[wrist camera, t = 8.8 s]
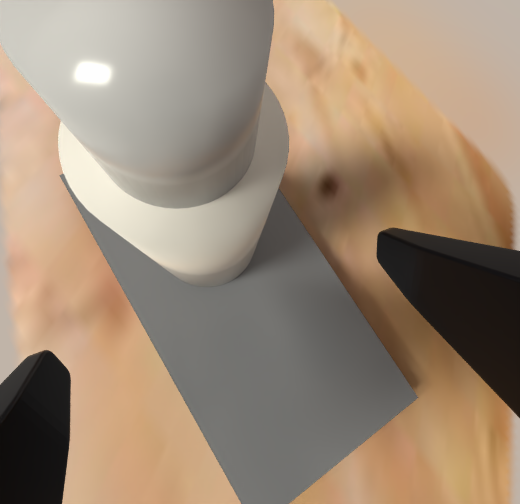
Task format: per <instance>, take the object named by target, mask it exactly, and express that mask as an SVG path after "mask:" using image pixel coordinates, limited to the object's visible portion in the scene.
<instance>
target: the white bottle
mask: <svg viewBox="0 0 520 504" xmlns="http://www.w3.org/2000/svg"><path fill="white" fill-rule="evenodd" d="M273 26H274V6H273V0H0V43H1V45H2V48H3V50H4V52H5V53H6V55H7V56H8V58H9V59H10V61H11V62H12V64H13V65H14V67H15V68H16V69H17V70H18V71H19V72H20V74H21V75H22V76H23V77H24V78H25V79H26V81H27V82H28V83H29V84H30V85H31V86H32V87H33V89H34V90H35V91H36V92H37V93H38V94H39V96H40V97H41V98H42V99H43V100H44V101H45V103H46V104H47V105H48V106H49V107H50V108H51V110H52V111H53V112H54V113H55V114H56V115H57V117H58V118H59V119H60V120H61V123H60V128H59V137H58V149H59V157H60V162H61V166H62V169H63V173H64V175H65V178H66V180H67V182H68V184H69V186H70V188H71V189H72V191H73V192H74V194H75V196H76V197H77V199H78V200H79V201H80V202H81V203H82V204H83V205H84V207H85V208H86V209H87V210H88V211H89V212H90V213H92V214H93V215H94V216H95V217H96V218H97V219H99V220H100V221H101V222H102V223H104V224H105V225H107V226H108V227H109V228H111V229H112V230H113V231H115V232H116V233H117V234H119V235H120V236H121V237H123V238H124V239H125V240H127V241H128V242H129V243H131V244H132V245H134V246H135V247H136V248H138V249H139V250H140V251H142V252H143V253H144V254H146V255H147V256H148V257H150V258H151V259H152V260H154V261H155V262H156V263H158V264H159V265H160V266H162V267H163V268H165V269H166V270H167V271H169V272H170V273H171V274H173V275H174V276H175V277H177V278H178V279H180V280H181V281H183V282H185V283H187V284H190V285H193V286H198V287H215V286H220V285H223V284H226V283H228V282H230V281H232V280H233V279H235V278H236V277H238V276H239V275H240V274H241V273H242V272H243V271H244V270H245V269H246V267H247V266H248V264H249V263H250V261H251V259H252V257H253V254H254V251H255V249H256V246H257V243H258V241H259V238H260V236H261V233H262V230H263V228H264V225H265V222H266V220H267V217H268V214H269V212H270V209H271V206H272V204H273V201H274V199H275V196H276V193H277V191H278V188H279V185H280V183H281V180H282V177H283V174H284V171H285V168H286V165H287V159H288V153H289V135H288V127H287V123H286V119H285V116H284V112H283V110H282V108H281V106H280V103H279V101H278V99H277V98H276V96H275V94H274V93H273V91H272V90H271V88H270V87H269V86H268V85H267V83H266V82H265V80H266V73H267V66H268V60H269V53H270V46H271V40H272V33H273Z"/></svg>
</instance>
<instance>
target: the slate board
mask: <svg viewBox="0 0 520 504" xmlns="http://www.w3.org/2000/svg"><path fill="white" fill-rule="evenodd" d="M60 177H61V179H62V181H63V183H64V184H65V186H66V188H67V190H68V192H69V193H70V195H71V197H72V199H73V201H74V202H75V204H76V206H77V208H78V210H79V211H80V213H81V215H82V217H83V219H84V220H85V222H86V224H87V226H88V228H89V229H90V231H91V233H92V235H93V237H94V238H95V240H96V242H97V244H98V246H99V247H100V249H101V251H102V253H103V255H104V257H105V258H106V260H107V262H108V264H109V266H110V267H111V269H112V271H113V273H114V275H115V276H116V278H117V280H118V282H119V284H120V285H121V287H122V289H123V291H124V293H125V294H126V296H127V298H128V300H129V302H130V303H131V305H132V307H133V309H134V311H135V312H136V314H137V316H138V318H139V320H140V321H141V323H142V325H143V327H144V329H145V330H146V332H147V334H148V336H149V338H150V340H151V341H152V343H153V345H154V347H155V349H156V350H157V352H158V354H159V356H160V358H161V359H162V361H163V363H164V365H165V367H166V368H167V370H168V372H169V374H170V376H171V377H172V379H173V381H174V383H175V385H176V386H177V388H178V390H179V392H180V394H181V395H182V397H183V399H184V401H185V403H186V404H187V406H188V408H189V410H190V412H191V413H192V415H193V417H194V419H195V421H196V423H197V424H198V426H199V428H200V430H201V432H202V433H203V435H204V437H205V439H206V441H207V442H208V444H209V446H210V448H211V450H212V451H213V453H214V455H215V457H216V459H217V460H218V462H219V464H220V466H221V468H222V469H223V471H224V473H225V475H226V477H227V478H228V480H229V482H230V484H231V486H232V487H233V489H234V491H235V493H236V495H237V496H238V498H239V500H240V502H241V504H289V503H290V502H291V501H293V500H294V499H295V498H296V497H297V496H299V495H300V494H301V493H302V492H304V491H305V490H306V489H307V488H308V487H310V486H311V485H312V484H313V483H315V482H316V481H317V480H318V479H319V478H321V477H322V476H323V475H324V474H326V473H327V472H328V471H329V470H330V469H332V468H333V467H334V466H335V465H337V464H338V463H339V462H340V461H341V460H343V459H344V458H345V457H346V456H348V455H349V454H350V453H351V452H352V451H354V450H355V449H356V448H357V447H358V446H360V445H361V444H362V443H363V442H365V441H366V440H367V439H368V438H369V437H371V436H372V435H373V434H374V433H376V432H377V431H378V430H379V429H380V428H382V427H383V426H384V425H385V424H387V423H388V422H389V421H390V420H391V419H393V418H394V417H395V416H396V415H398V414H399V413H400V412H401V411H402V410H404V409H405V408H406V407H407V406H409V405H410V404H411V403H412V402H413V401H415V400H416V399H417V398H418V397H417V395H416V394H415V392H414V391H413V389H412V388H411V386H410V385H409V383H408V382H407V380H406V379H405V377H404V376H403V374H402V373H401V371H400V370H399V368H398V367H397V365H396V364H395V362H394V361H393V359H392V358H391V356H390V355H389V353H388V352H387V350H386V349H385V347H384V346H383V344H382V343H381V341H380V340H379V338H378V337H377V335H376V334H375V332H374V331H373V329H372V328H371V326H370V325H369V323H368V322H367V320H366V319H365V317H364V316H363V314H362V313H361V311H360V310H359V308H358V307H357V305H356V304H355V302H354V301H353V299H352V298H351V296H350V295H349V293H348V292H347V290H346V289H345V287H344V286H343V284H342V283H341V281H340V280H339V278H338V277H337V275H336V274H335V272H334V271H333V269H332V268H331V266H330V265H329V263H328V262H327V260H326V259H325V257H324V256H323V254H322V253H321V251H320V250H319V248H318V247H317V245H316V244H315V242H314V241H313V239H312V238H311V236H310V235H309V233H308V232H307V230H306V229H305V227H304V226H303V224H302V223H301V221H300V220H299V218H298V217H297V215H296V214H295V212H294V211H293V209H292V208H291V206H290V205H289V203H288V202H287V200H286V199H285V197H284V196H283V194H282V193H281V191H280V190H279V188H278V191H277V193H276V196H275V199H274V201H273V204H272V206H271V209H270V212H269V214H268V217H267V220H266V222H265V225H264V228H263V230H262V233H261V236H260V238H259V241H258V243H257V246H256V249H255V251H254V254H253V257H252V259H251V261H250V263H249V264H248V266H247V267H246V269H245V270H244V271H243V272H242V273H241V274H240V275H239V276H238V277H236V278H235V279H233V280H232V281H230V282H228V283H226V284H223V285H220V286H215V287H198V286H193V285H190V284H187V283H185V282H183V281H181V280H180V279H178V278H177V277H175V276H174V275H173V274H171V273H170V272H169V271H167V270H166V269H165V268H163V267H162V266H160V265H159V264H158V263H156V262H155V261H154V260H152V259H151V258H150V257H148V256H147V255H146V254H144V253H143V252H142V251H140V250H139V249H138V248H136V247H135V246H134V245H132V244H131V243H129V242H128V241H127V240H125V239H124V238H123V237H121V236H120V235H119V234H117V233H116V232H115V231H113V230H112V229H111V228H109V227H108V226H107V225H105V224H104V223H102V222H101V221H100V220H99V219H97V218H96V217H95V216H94V215H93V214H92V213H90V212H89V211H88V210H87V209H86V208H85V207H84V205H83V204H82V203H81V202H80V201H79V200H78V199H77V197H76V196H75V194H74V192H73V191H72V189H71V188H70V186H69V184H68V182H67V180H66V178H65V175H64V174H62V175H60Z"/></svg>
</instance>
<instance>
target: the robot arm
mask: <svg viewBox="0 0 520 504" xmlns="http://www.w3.org/2000/svg"><path fill="white" fill-rule="evenodd" d="M377 259H378V262H379V263H380V265H381V266H382V267H383V269H384V270H385V271H386V273H387V274H388V275H389V276H390V278H391V279H392V280H393V282H394V283H395V284H396V286H397V287H398V288H399V289H400V291H401V292H402V293H403V295H404V296H405V297H406V298H407V299H408V301H409V302H410V303H411V304H412V305H413V306H414V307H415V309H416V310H417V311H418V312H419V313H420V314H421V315H422V316H423V317H424V318H425V319H426V320H427V321H428V322H429V323H430V324H431V325H432V326H433V327H434V329H435V330H436V331H437V332H438V333H439V334H440V335H441V336H442V337H443V338H444V339H445V340H446V341H447V342H448V343H449V344H450V345H451V346H452V347H453V348H454V350H455V351H456V352H457V353H458V354H459V355H460V356H461V357H462V358H463V359H464V360H465V361H466V362H467V363H468V364H469V365H470V366H471V367H472V368H473V370H474V371H475V372H476V373H477V374H478V375H479V376H480V377H481V378H482V379H483V380H484V381H485V382H486V383H487V384H488V385H489V386H490V387H491V388H492V389H493V391H494V392H495V393H496V394H497V395H498V396H499V397H500V398H501V399H502V400H503V401H504V402H505V403H506V404H507V405H508V406H509V407H510V408H511V409H512V411H513V412H514V413H515V414H516V415H517V416H518V417H519V418H520V251H517V250H511V249H506V248H501V247H495V246H490V245H484V244H479V243H474V242H468V241H463V240H457V239H452V238H447V237H441V236H436V235H430V234H425V233H420V232H414V231H409V230H403V229H398V228H389V229H386V230H383V231H381V232H380V233H379V234H378V237H377ZM70 389H71V378H70V373H69V371H68V369H67V368H66V367H65V366H64V365H63V364H62V362H61V361H60V360H59V359H58V358H57V357H56V356H55V355H54V354H53V353H52V352H51V351H49V350H44V351H41V352H38V353H36V354H33V355H30V356H28V357H27V358H26V359H25V360H24V361H23V362H22V363H21V364H20V365H19V366H18V367H17V368H16V369H15V370H14V371H13V372H12V373H11V374H10V375H9V377H7V378H6V379H5V380H4V381H3V383H1V385H0V504H62V499H63V491H64V483H65V475H66V467H67V459H68V451H69V441H70Z"/></svg>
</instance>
